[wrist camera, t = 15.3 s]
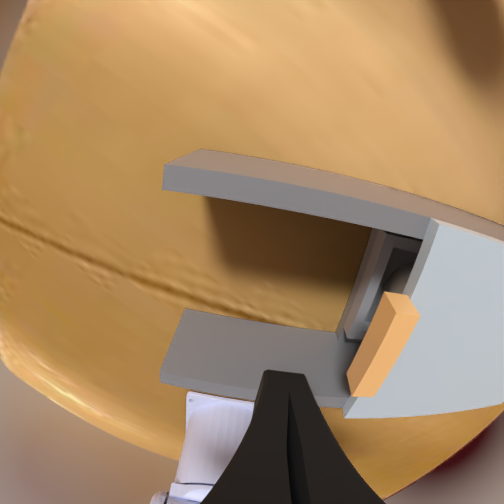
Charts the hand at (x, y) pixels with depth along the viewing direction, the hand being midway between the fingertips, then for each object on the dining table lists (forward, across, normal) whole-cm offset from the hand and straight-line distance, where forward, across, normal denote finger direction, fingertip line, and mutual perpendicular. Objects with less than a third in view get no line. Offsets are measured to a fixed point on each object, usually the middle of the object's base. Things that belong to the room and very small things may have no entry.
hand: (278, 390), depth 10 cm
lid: (+4, -12, 0) cm, 13 cm away
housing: (+10, -8, 0) cm, 13 cm away
